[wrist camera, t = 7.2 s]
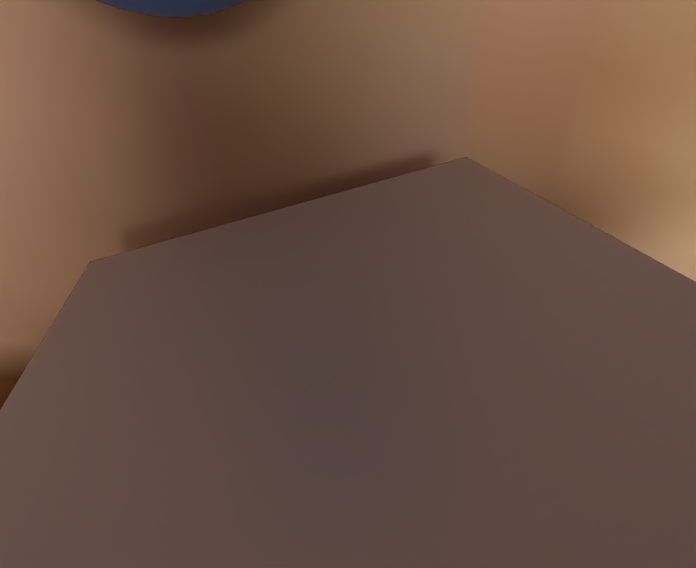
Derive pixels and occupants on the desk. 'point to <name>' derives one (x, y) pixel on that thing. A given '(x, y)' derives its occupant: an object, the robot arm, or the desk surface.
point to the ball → (172, 6)
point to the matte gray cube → (363, 394)
